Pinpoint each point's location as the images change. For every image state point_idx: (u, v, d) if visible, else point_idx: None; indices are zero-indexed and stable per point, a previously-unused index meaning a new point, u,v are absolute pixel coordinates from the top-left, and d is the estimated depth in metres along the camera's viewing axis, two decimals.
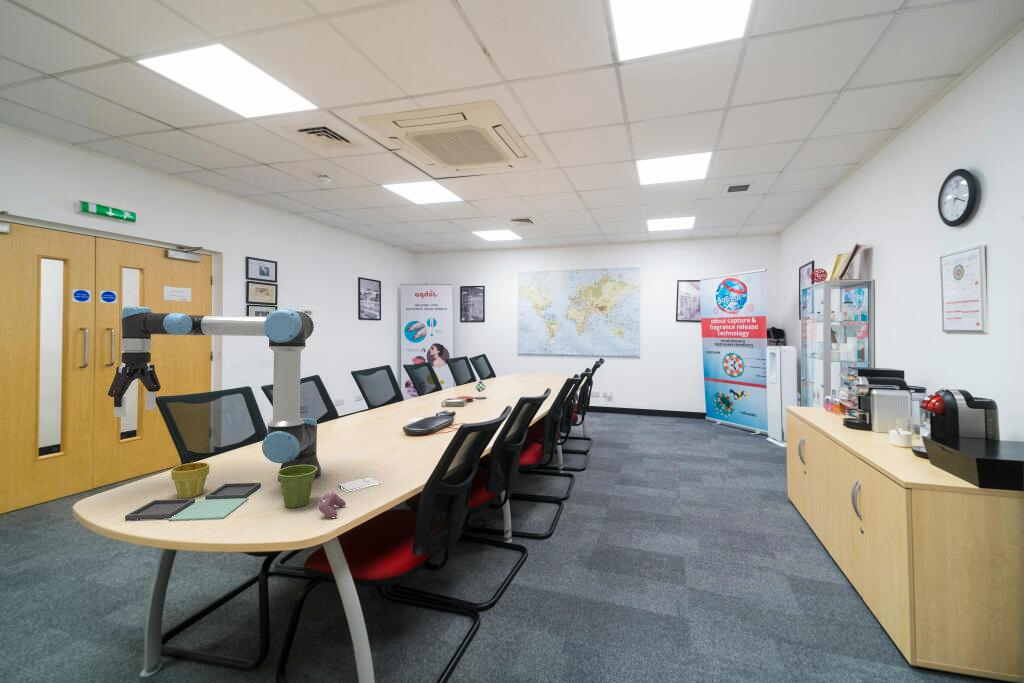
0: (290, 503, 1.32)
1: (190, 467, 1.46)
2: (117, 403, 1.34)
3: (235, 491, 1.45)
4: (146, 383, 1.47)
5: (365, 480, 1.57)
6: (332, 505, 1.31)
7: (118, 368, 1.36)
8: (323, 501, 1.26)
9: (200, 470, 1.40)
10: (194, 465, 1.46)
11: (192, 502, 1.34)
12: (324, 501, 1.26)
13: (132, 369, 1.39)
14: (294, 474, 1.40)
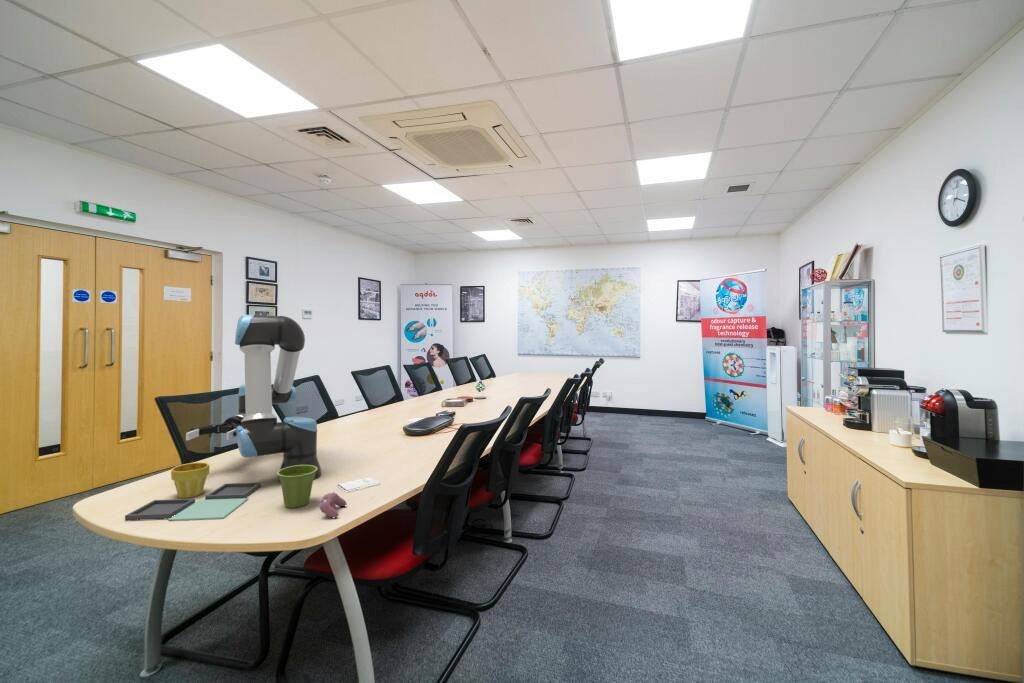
0: (290, 503, 1.32)
1: (190, 467, 1.46)
2: None
3: (235, 491, 1.45)
4: None
5: (365, 480, 1.57)
6: (333, 505, 1.31)
7: None
8: (324, 501, 1.26)
9: (200, 470, 1.40)
10: (194, 465, 1.46)
11: (192, 502, 1.34)
12: (325, 501, 1.26)
13: None
14: (294, 474, 1.40)
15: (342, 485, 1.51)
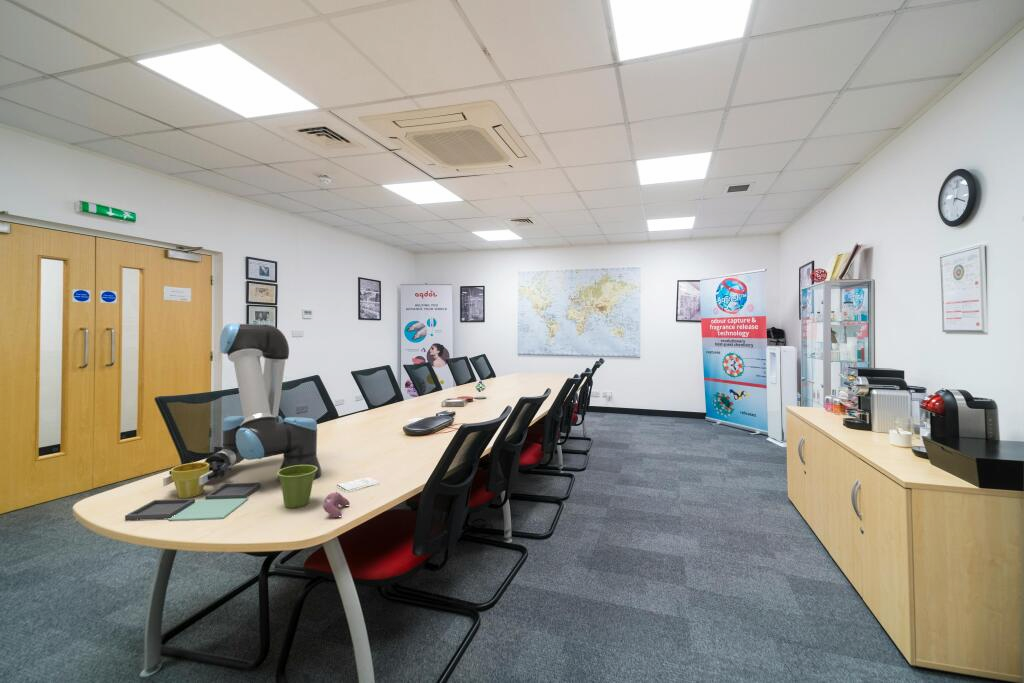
0: (290, 504, 1.32)
1: (190, 467, 1.46)
2: None
3: (235, 491, 1.45)
4: None
5: (364, 480, 1.57)
6: (336, 505, 1.31)
7: None
8: (328, 501, 1.26)
9: (200, 470, 1.40)
10: (194, 465, 1.46)
11: (192, 502, 1.34)
12: (329, 501, 1.26)
13: None
14: (294, 474, 1.40)
15: (341, 485, 1.51)
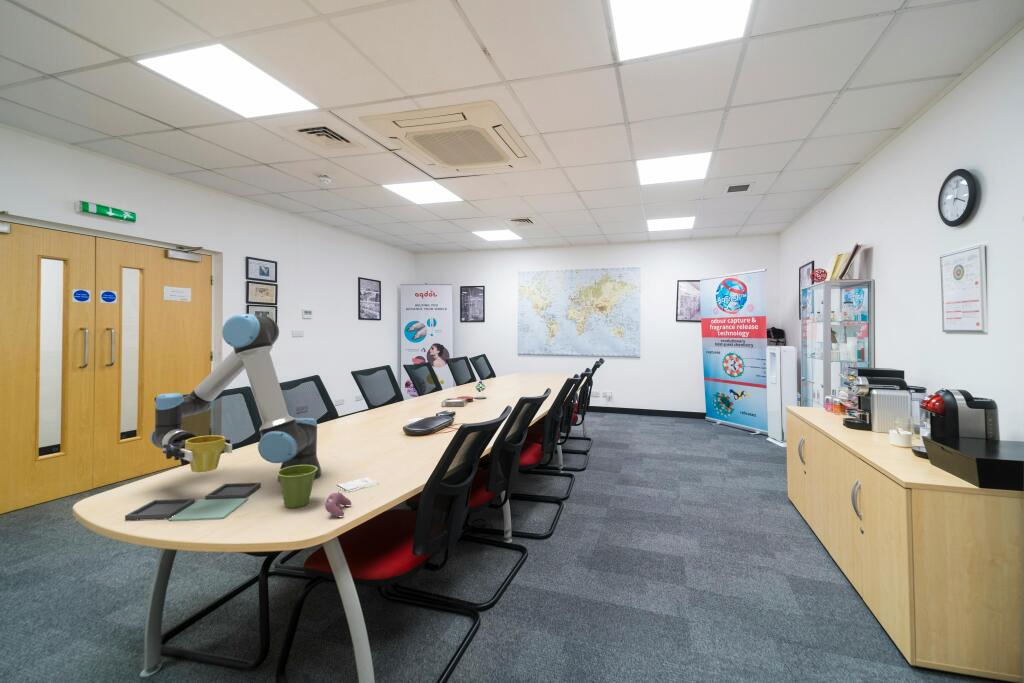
0: (290, 503, 1.32)
1: (191, 443, 1.32)
2: (178, 454, 1.26)
3: (235, 491, 1.45)
4: None
5: (363, 480, 1.57)
6: (338, 505, 1.32)
7: (163, 451, 1.32)
8: (330, 501, 1.26)
9: None
10: (194, 440, 1.33)
11: (192, 502, 1.34)
12: (331, 501, 1.26)
13: (176, 443, 1.35)
14: (294, 474, 1.40)
15: (341, 485, 1.50)
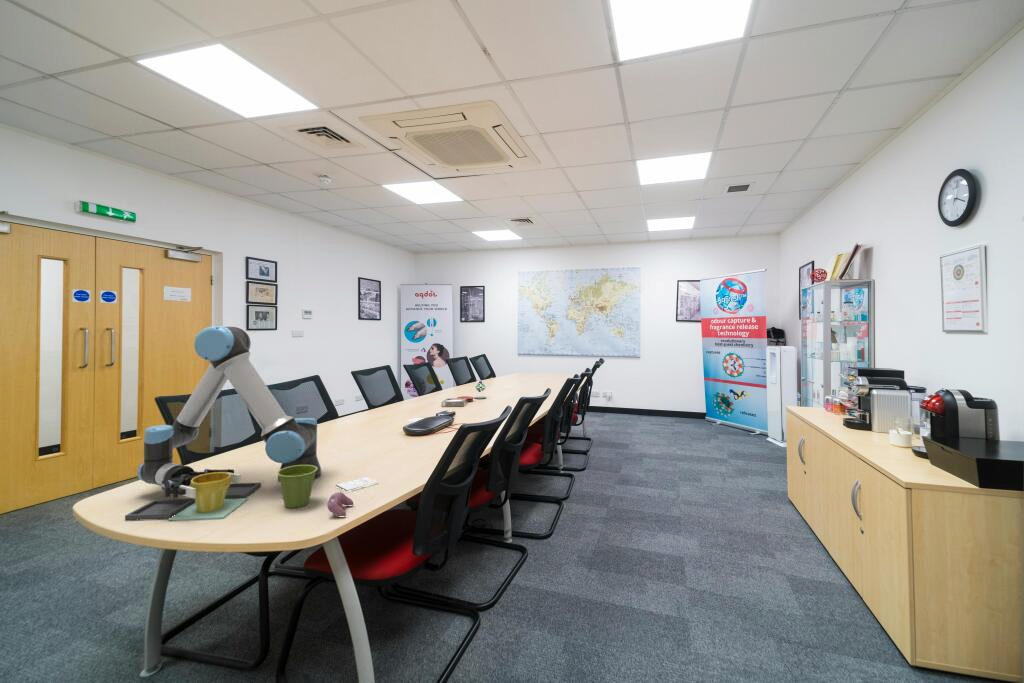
0: (290, 503, 1.32)
1: (195, 482, 1.29)
2: (179, 491, 1.23)
3: (235, 491, 1.45)
4: None
5: (363, 480, 1.57)
6: (340, 504, 1.32)
7: (162, 487, 1.29)
8: (332, 501, 1.27)
9: (230, 476, 1.33)
10: (198, 479, 1.31)
11: (192, 502, 1.34)
12: (333, 500, 1.27)
13: (176, 478, 1.32)
14: (294, 474, 1.40)
15: (341, 485, 1.50)
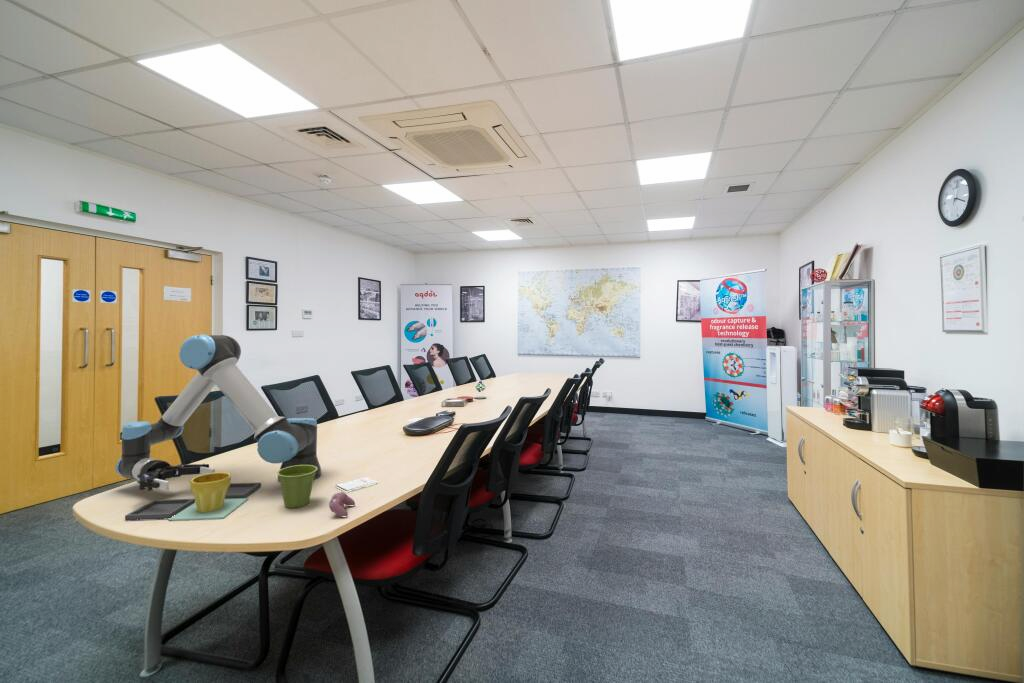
0: (290, 503, 1.32)
1: (195, 482, 1.30)
2: (153, 484, 1.28)
3: (235, 491, 1.45)
4: (188, 471, 1.42)
5: (362, 480, 1.57)
6: (342, 504, 1.32)
7: (137, 480, 1.34)
8: (334, 500, 1.27)
9: (230, 476, 1.34)
10: (197, 479, 1.31)
11: (192, 502, 1.34)
12: (335, 500, 1.27)
13: (151, 472, 1.37)
14: (294, 474, 1.40)
15: (340, 486, 1.50)
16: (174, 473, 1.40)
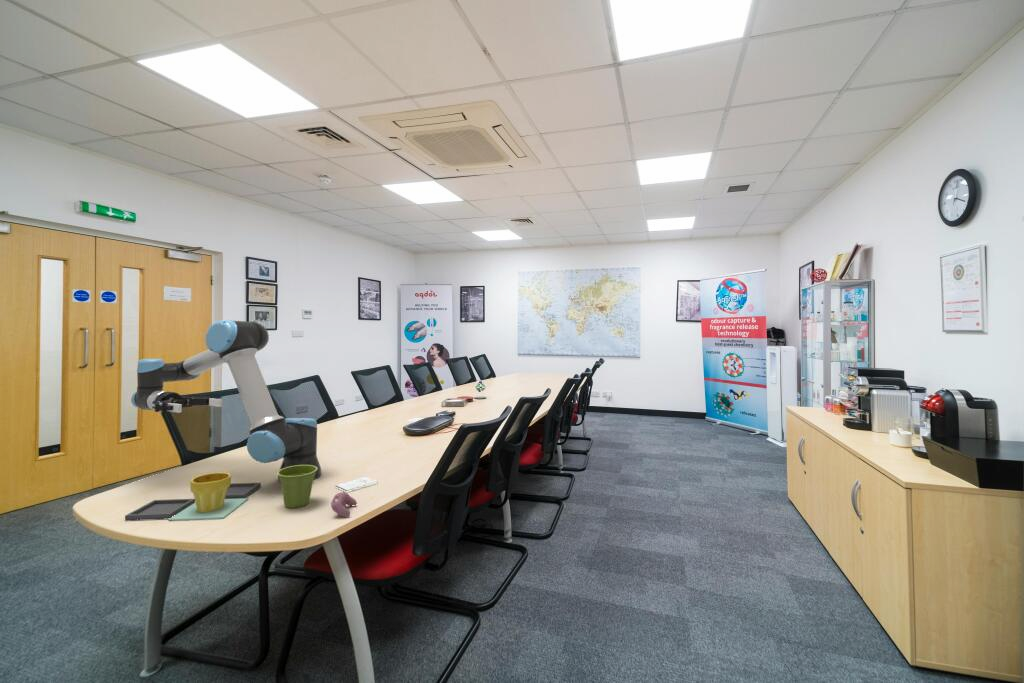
0: (290, 503, 1.32)
1: None
2: (167, 407, 1.41)
3: (235, 491, 1.45)
4: (198, 402, 1.55)
5: (362, 480, 1.57)
6: (344, 504, 1.32)
7: (152, 406, 1.46)
8: (336, 500, 1.27)
9: (230, 476, 1.34)
10: (198, 479, 1.31)
11: (192, 502, 1.34)
12: (337, 500, 1.27)
13: (165, 400, 1.49)
14: (294, 474, 1.40)
15: (340, 486, 1.50)
16: (185, 403, 1.53)
